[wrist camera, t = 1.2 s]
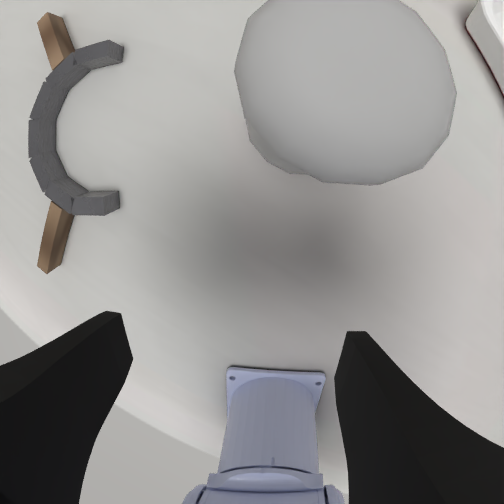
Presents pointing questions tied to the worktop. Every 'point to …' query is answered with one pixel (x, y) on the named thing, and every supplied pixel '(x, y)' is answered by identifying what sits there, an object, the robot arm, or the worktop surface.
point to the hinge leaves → (57, 217)
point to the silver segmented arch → (44, 132)
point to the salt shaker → (344, 88)
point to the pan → (489, 35)
